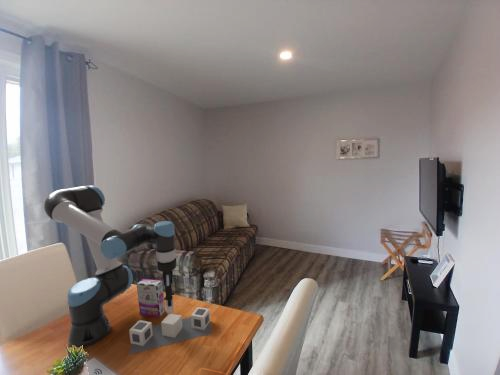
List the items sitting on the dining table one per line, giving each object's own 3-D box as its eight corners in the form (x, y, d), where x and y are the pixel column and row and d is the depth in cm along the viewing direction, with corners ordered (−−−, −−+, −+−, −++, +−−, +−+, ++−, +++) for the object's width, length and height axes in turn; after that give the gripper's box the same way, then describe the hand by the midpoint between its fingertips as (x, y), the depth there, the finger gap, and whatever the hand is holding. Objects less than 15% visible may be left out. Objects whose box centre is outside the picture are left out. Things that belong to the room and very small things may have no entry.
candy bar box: (165, 311, 121) (163, 280, 118) (159, 318, 116) (157, 285, 113) (146, 308, 123) (142, 278, 121) (139, 315, 118) (136, 283, 116)
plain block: (162, 335, 104) (161, 322, 103) (170, 325, 110) (169, 313, 109) (174, 337, 102) (173, 324, 102) (182, 327, 108) (181, 315, 107)
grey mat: (129, 355, 95) (129, 354, 95) (134, 330, 108) (134, 329, 108) (212, 334, 104) (212, 333, 104) (207, 314, 118) (207, 313, 118)
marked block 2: (191, 328, 108) (190, 315, 107) (198, 318, 114) (197, 306, 113) (204, 330, 106) (203, 317, 105) (210, 321, 112) (209, 308, 111)
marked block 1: (130, 343, 100) (128, 329, 99) (140, 332, 106) (139, 319, 105) (143, 346, 98) (141, 332, 97) (153, 335, 104) (151, 322, 103)
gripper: (176, 264, 96) (180, 319, 100) (175, 251, 109) (178, 300, 112) (156, 267, 94) (160, 323, 98) (157, 254, 106) (161, 304, 110)
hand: (170, 311), depth 105 cm, fingers closed
